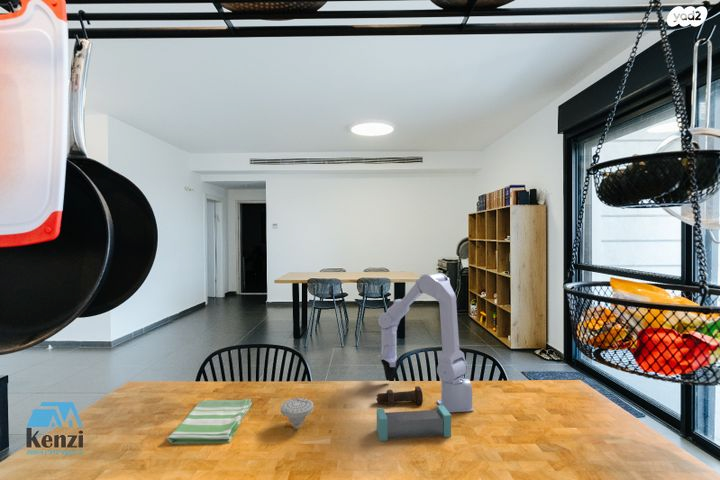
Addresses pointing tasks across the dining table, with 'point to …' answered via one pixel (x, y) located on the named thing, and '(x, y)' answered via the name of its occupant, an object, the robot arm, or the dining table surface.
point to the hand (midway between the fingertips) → (388, 379)
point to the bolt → (401, 396)
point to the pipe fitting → (413, 424)
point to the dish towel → (211, 422)
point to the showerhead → (297, 410)
